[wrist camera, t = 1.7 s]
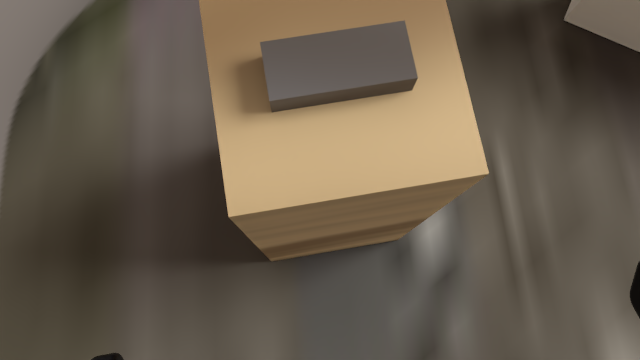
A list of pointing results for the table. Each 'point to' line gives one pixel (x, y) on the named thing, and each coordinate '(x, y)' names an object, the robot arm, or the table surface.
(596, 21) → the wall board
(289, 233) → the tan rectangular block
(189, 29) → the table surface
